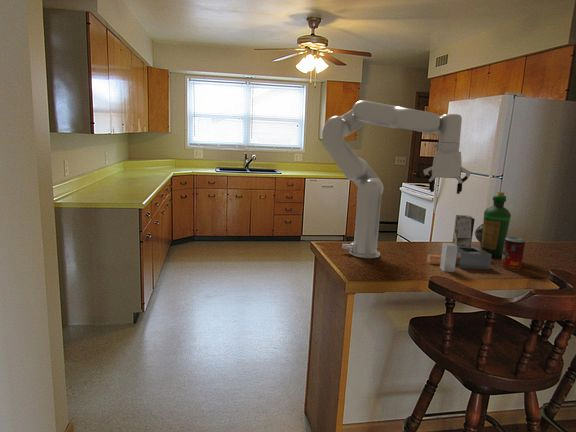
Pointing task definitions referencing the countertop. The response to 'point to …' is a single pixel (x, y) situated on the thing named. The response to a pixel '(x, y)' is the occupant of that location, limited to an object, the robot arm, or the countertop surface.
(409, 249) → the countertop surface
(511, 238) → the soda can
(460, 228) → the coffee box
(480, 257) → the bracket head
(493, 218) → the bottle
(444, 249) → the steel wedge
